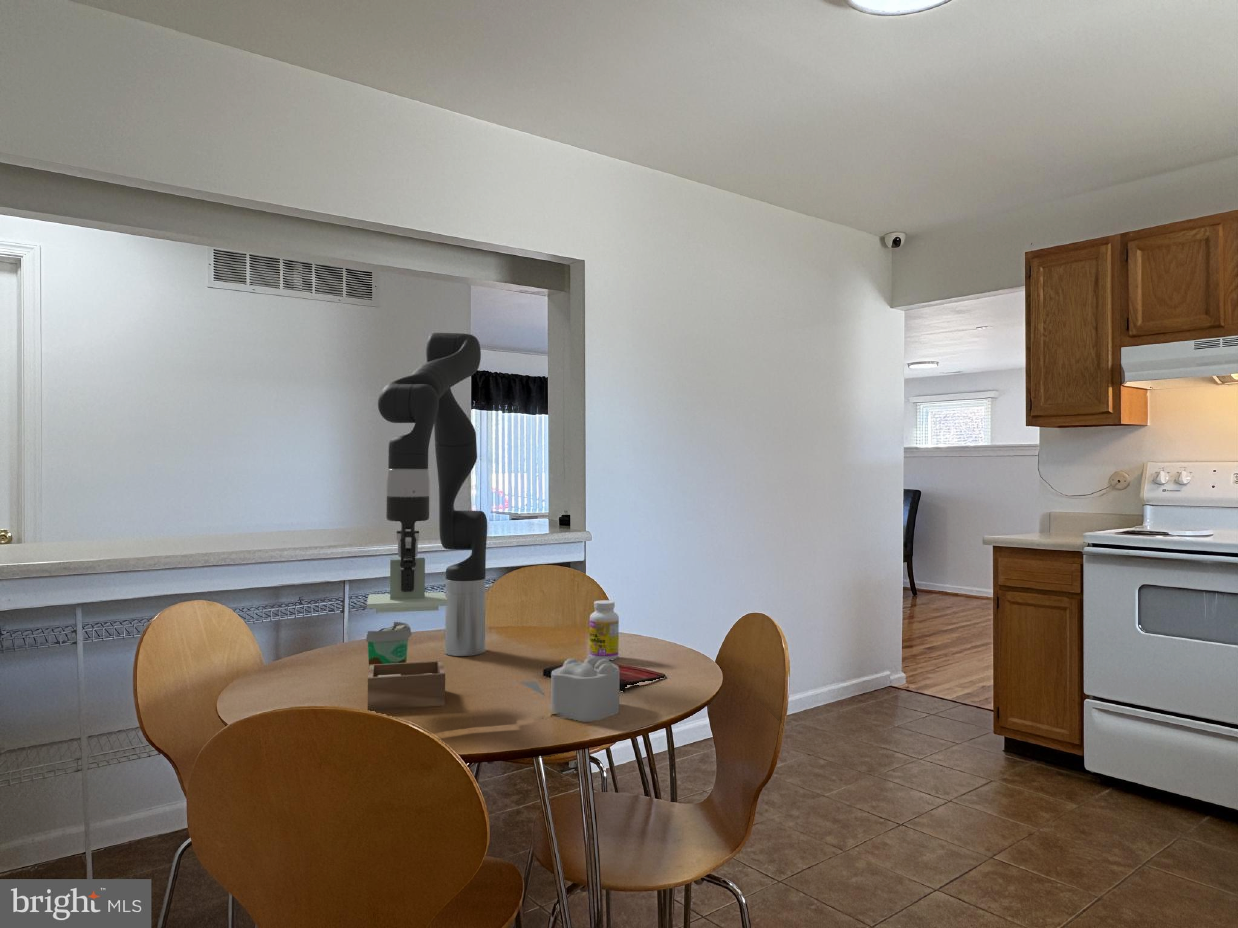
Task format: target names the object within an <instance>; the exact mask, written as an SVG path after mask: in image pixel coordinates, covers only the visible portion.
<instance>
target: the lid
mask: <svg viewBox="0 0 1238 928" xmlns="http://www.w3.org/2000/svg"><path fill="white" fill-rule="evenodd" d="M389 561H390V562H389V563H390V565H389V566H390V569H389V572H390V574H389V578H390V579H389V580H390V581H389V593H378V594H377V593H373V594H372V593H370V594H368V597H367V600H366V609H368V610H370V609H375V613H376V614H378V613H381V614H382V613H401V612H402V613H403V612H404V613H407V612H429V611H430V612H431V611H434V612H435V611H439V608H440V607H446V606H448V600H447V598H446V593H445V592H444V591H438V592H436V591H434V592H425V591H426V589H425V588H426V587H425V586H426V584H425V583H426V559H425V557H415V563H416V568H415V570H414V590H413V591H411V592H403V591H402V590H401V571H404V570H401V568H400V563H401V558H400V557H394V558H390V560H389ZM404 561H412V558H404Z"/></svg>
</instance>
